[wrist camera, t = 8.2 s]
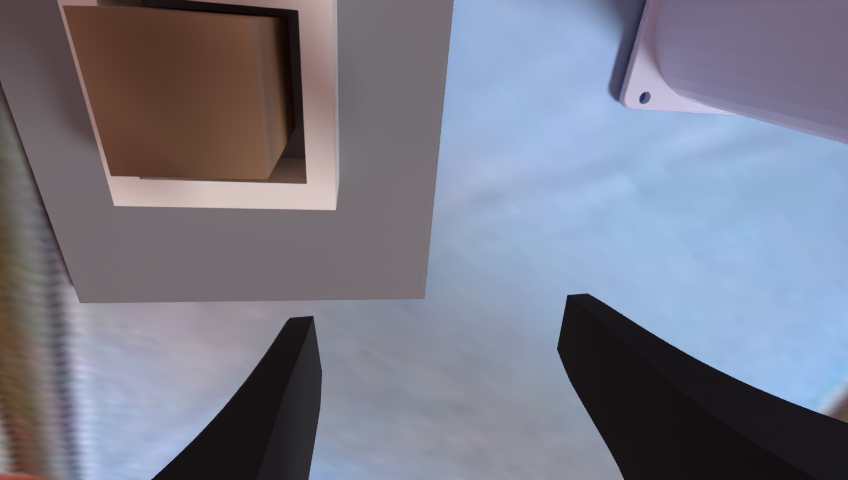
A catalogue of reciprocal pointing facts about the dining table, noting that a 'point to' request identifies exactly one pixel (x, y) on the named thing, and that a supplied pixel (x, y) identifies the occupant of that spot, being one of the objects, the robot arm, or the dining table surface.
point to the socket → (250, 198)
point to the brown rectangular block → (186, 89)
